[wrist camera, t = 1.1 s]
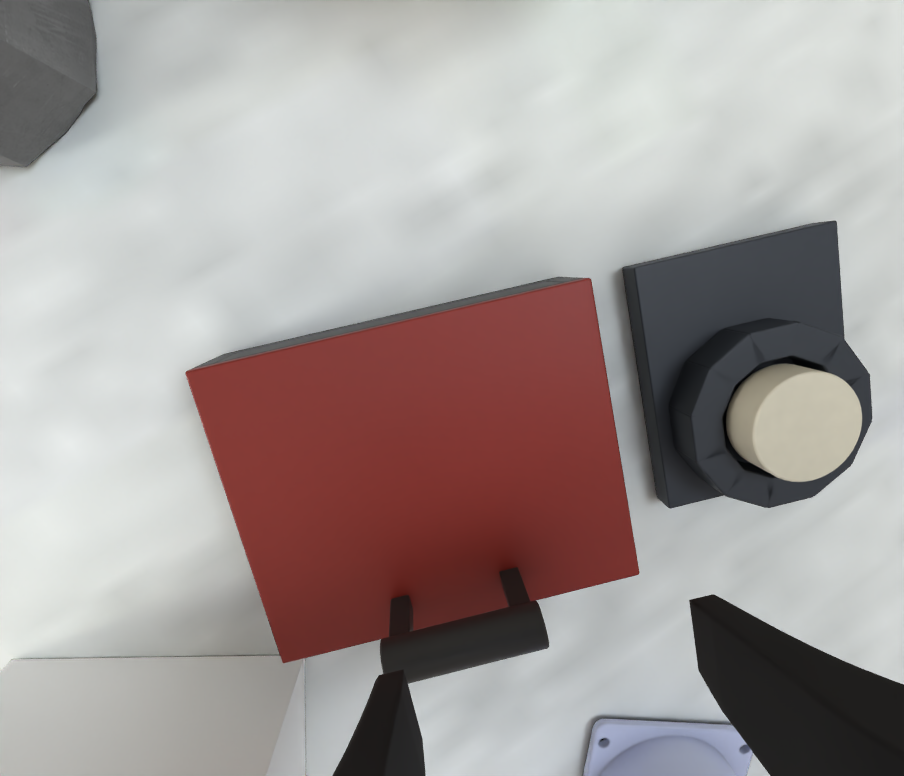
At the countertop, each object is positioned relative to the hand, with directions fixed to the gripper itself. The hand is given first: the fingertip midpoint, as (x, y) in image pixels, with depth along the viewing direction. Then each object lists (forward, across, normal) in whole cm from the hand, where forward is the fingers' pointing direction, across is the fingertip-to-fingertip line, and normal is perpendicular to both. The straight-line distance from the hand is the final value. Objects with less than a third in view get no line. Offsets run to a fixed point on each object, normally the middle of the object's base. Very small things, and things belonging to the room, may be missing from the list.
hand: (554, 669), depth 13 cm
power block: (+10, -11, -3) cm, 15 cm away
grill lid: (+7, +2, -3) cm, 8 cm away
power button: (+8, -11, -2) cm, 14 cm away
